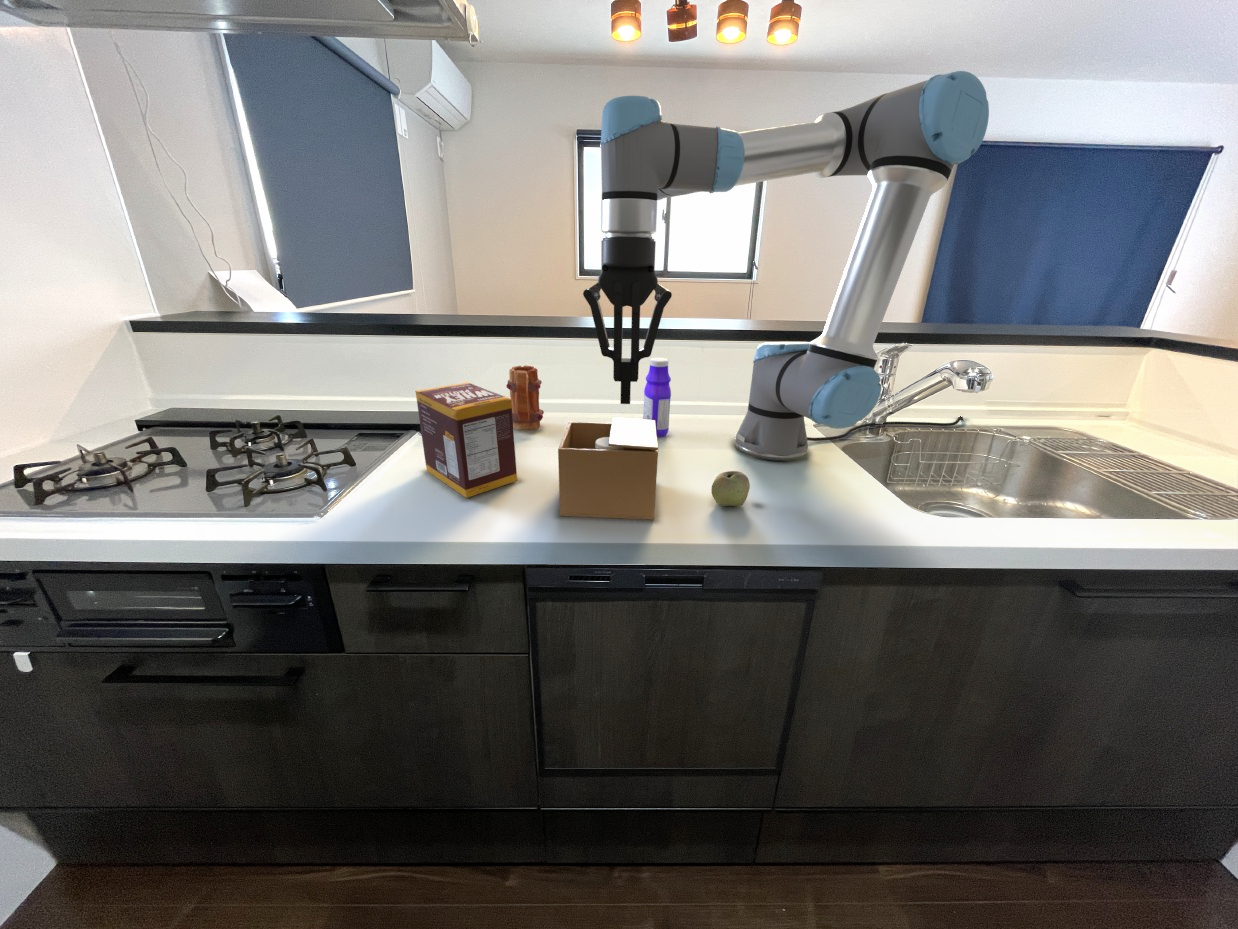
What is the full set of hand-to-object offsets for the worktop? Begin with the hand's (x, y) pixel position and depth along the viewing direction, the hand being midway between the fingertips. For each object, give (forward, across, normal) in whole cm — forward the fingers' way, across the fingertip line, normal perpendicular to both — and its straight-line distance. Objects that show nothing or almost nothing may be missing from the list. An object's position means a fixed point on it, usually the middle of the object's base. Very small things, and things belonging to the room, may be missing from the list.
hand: (625, 401), depth 77 cm
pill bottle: (+17, +2, 0) cm, 17 cm away
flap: (+5, -1, 0) cm, 5 cm away
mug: (+17, +24, -32) cm, 43 cm away
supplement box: (+17, +28, -7) cm, 34 cm away
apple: (+18, -18, 0) cm, 26 cm away
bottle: (+18, -6, -34) cm, 39 cm away
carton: (+17, +2, 0) cm, 17 cm away
